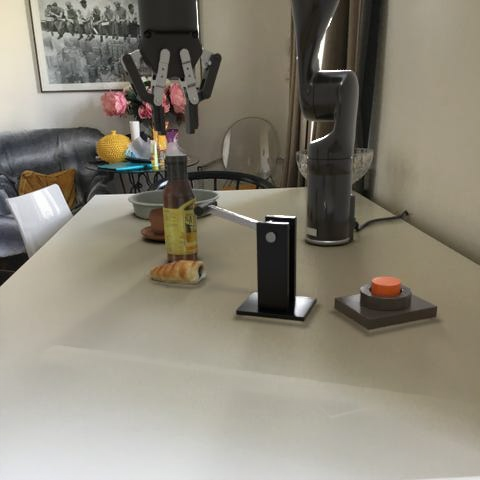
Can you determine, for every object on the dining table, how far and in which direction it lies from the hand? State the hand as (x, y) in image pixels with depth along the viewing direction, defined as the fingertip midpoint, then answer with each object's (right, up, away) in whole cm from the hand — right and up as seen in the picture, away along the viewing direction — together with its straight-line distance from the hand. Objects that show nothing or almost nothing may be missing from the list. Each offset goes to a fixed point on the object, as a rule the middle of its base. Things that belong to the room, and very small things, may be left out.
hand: (176, 133), depth 78 cm
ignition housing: (+29, -25, +3) cm, 39 cm away
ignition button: (+29, -22, +1) cm, 36 cm away
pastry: (-1, -19, +20) cm, 28 cm away
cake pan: (-9, +3, +76) cm, 76 cm away
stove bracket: (+14, -25, +5) cm, 29 cm away
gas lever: (+9, -13, +2) cm, 16 cm away
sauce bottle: (-2, -14, +32) cm, 35 cm away
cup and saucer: (-7, -7, +49) cm, 51 cm away
